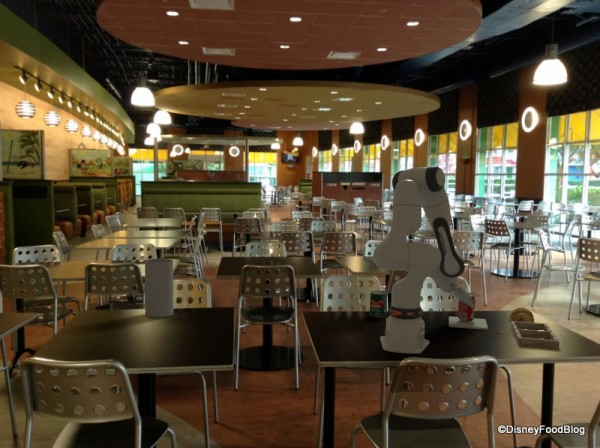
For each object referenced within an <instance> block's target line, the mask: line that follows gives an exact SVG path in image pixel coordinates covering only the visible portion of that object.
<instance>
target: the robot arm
mask: <svg viewBox="0 0 600 448" xmlns="http://www.w3.org/2000/svg"><path fill="white" fill-rule="evenodd" d="M445 185H446V175H445V172H444V170H443V169H442V168H441V167H439V166H438V165H429V166H421V167H420V166H419V167H418V166H417V167H412V168H408V169H404V170H400V171H397V172H396V173H394V175H393V177H392V180H391V186H392V189H393V197H392V199H393V200H392V221H391V222H392V223H391V227H390V230H389V233H388V235H387V236H386V238H384V240H383V241H381V242H380V243H379V244H378V245H376V247H375V249H374V250H373V261H374V263H375V265H376V266H377V267H378V269H382V270H387V271H400V272H401V271H402V272H403V271H406V272H407V274H406V276H405V277H404V278H401V279H399V280H397V281H395V282H394V283H393V284H392V286H391V303H390V306H389V316H388V317H386V319H385V320H386V321H385V330H384V332H383V333H384V334H385V335H383V336H382V335H381V336H380V338H379V339H380V343H381V347H382V350H384V351H387V352H392V353H399V354H421V353H423V351H424V350H425V349H426V348H427V347H428V346H429V344H430V341H429V340H428V339H425V335H426V333H425V331H426V327H425V325H426V324H425V321H424V320H423V318H422V307H421V299H422V297H421V296H422V289H423V284H424V283H425V282H426V281H425V280H427V278H428V277H429V278H430V279H432V280H433V281H434V283H435V285H436V286H437V287H438V288H439V289H440V290H441V291H442V292H443V293H446V292H447V294H450V295H451V296H453V297H455V298H456V299H458V301H459V300H461V301H462V302H464V303H465V304H468V305H469V306H470V307H471V308H473V307H474V304H473V303H472V302H471V299H472V298H471V296H470V295H469V294H468V293H469V292H468V291H466V290H465V289H463V287H462V286H461V285H459V278H458V277H460V276H462V275H463V274H464V272H465V269H466V267H465V266H466V265H465V262H464V255H463V251H462V249H461V247H459V246H457V245H456V244H455V242H454V240H453V237H452V232H451V231H452V230H451V217H452V216H451V206H450V200H449V197H448V194H447V191H446V189H445V187H444V186H445ZM422 209H423V212H424V214H425V216H426V219H427V221H428V223H429V225H430V227H431V229H432V231H433V233H434V236H435V240H436V244H437V245H435V244H431V243H426V242H407V241H406V239H407V237H408V236H410V235H412V234H414V233H416V232H418V231H419V230H420V229H421V227H422V221H423V220H422ZM467 292H468V293H467Z"/></svg>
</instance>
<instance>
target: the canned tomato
mask: <svg viewBox="0 0 600 448" xmlns="http://www.w3.org/2000/svg"><path fill="white" fill-rule="evenodd" d="M369 292H370V293H369V316H370V315H371V316H370V317H372V316H375V317H374V318H386V317H387V313H388V311H387V307H388V292H387V291H384V290H371V291H369ZM385 316H386V317H385Z"/></svg>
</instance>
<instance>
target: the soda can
mask: <svg viewBox="0 0 600 448" xmlns="http://www.w3.org/2000/svg"><path fill="white" fill-rule="evenodd" d="M466 292H467V293H468V294H469V295H470V296H471V298H472V299H471V302H472V303H473V304H474V307H473V308H471V307H470V306H469V305H468V304H465V303H464V302H462V301H461V300H459V299H458V306H457V307H458V309H457V317H458V318H459V319H460V320H461V321H463V322H471V321H472V320H474V318H475V315H476V314H475V312H476V298H475V294H474V293H472V292H468V291H466Z"/></svg>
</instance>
